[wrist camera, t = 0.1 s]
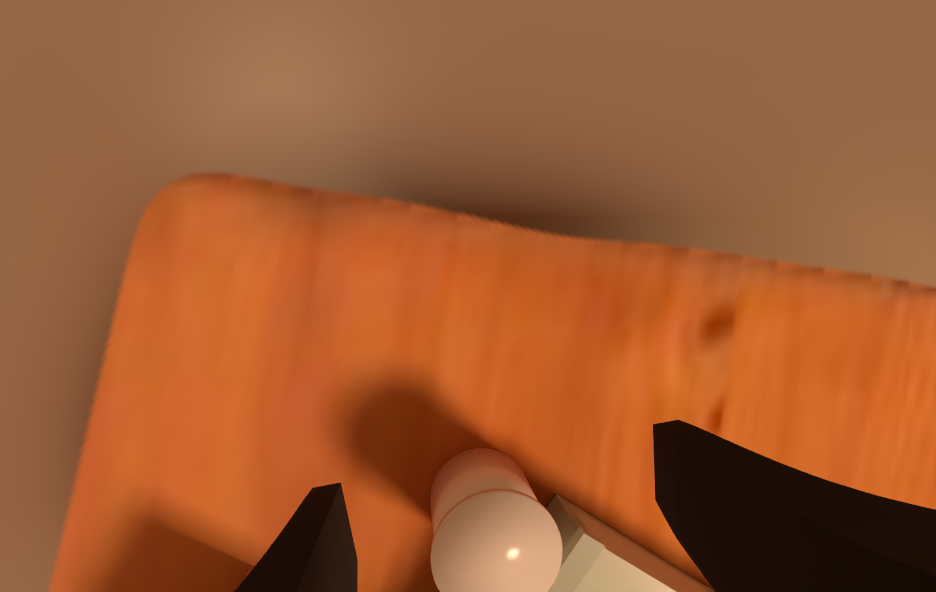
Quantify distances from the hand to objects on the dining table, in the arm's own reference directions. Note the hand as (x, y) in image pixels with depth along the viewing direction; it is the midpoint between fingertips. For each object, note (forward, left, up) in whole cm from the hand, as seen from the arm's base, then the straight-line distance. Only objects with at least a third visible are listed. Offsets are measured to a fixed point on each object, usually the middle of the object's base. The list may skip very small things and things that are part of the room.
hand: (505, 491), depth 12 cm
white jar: (-4, -4, -11) cm, 12 cm away
